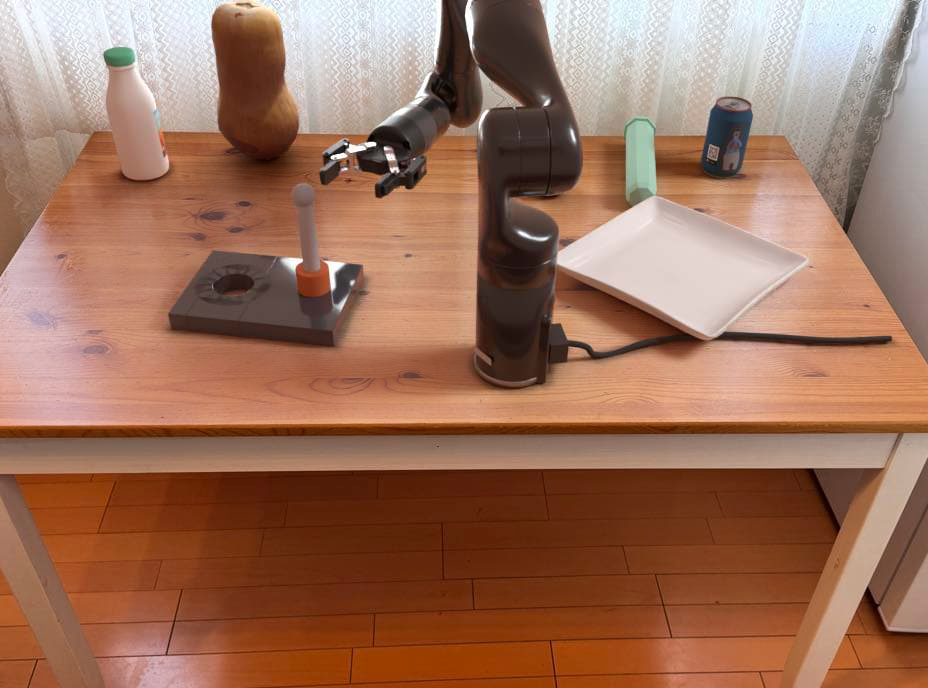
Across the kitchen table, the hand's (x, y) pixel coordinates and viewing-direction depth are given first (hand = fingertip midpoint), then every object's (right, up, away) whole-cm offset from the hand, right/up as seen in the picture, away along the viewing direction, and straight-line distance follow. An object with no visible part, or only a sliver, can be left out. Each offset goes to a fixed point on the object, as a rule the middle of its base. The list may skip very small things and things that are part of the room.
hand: (349, 185), depth 124 cm
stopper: (-5, -14, -1) cm, 15 cm away
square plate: (+46, -12, +7) cm, 48 cm away
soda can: (+59, +10, +33) cm, 69 cm away
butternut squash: (-20, +14, +35) cm, 43 cm away
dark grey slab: (-11, -16, 0) cm, 19 cm away
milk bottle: (-38, +9, +29) cm, 49 cm away
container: (+45, +9, +31) cm, 55 cm away
